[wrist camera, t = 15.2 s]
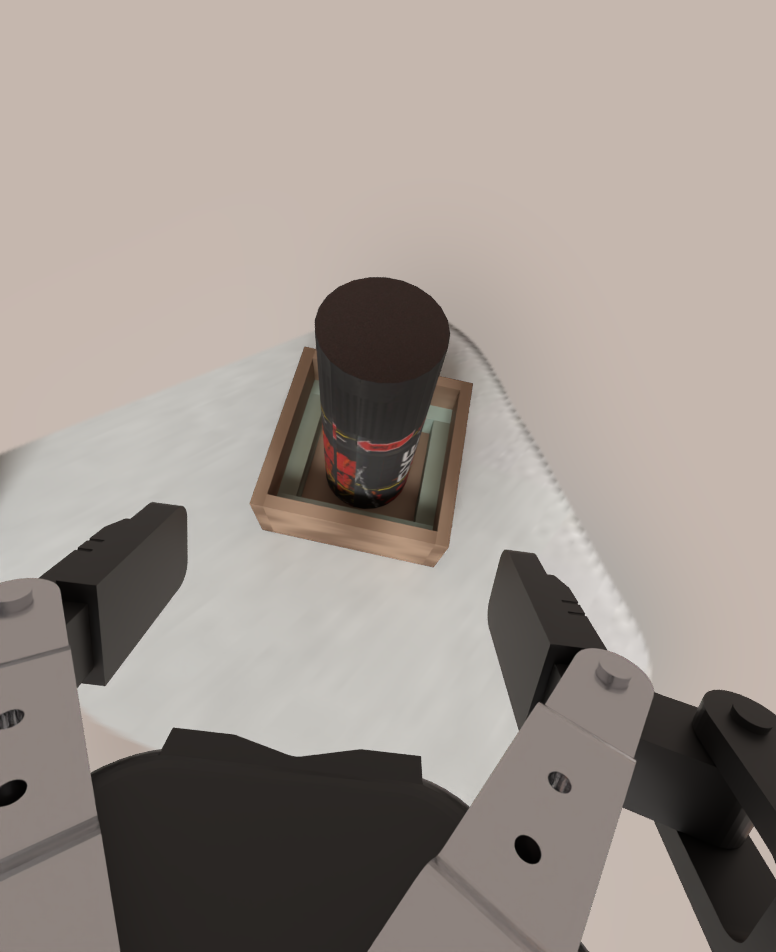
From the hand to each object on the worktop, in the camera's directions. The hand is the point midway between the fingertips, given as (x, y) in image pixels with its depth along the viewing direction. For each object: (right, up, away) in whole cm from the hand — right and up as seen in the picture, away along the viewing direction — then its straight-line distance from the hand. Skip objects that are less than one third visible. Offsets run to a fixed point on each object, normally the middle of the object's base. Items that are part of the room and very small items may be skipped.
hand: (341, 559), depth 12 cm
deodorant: (0, +2, +22) cm, 23 cm away
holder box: (0, +2, +23) cm, 23 cm away
